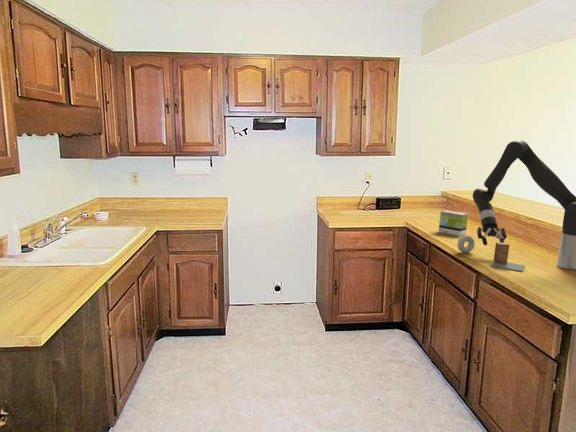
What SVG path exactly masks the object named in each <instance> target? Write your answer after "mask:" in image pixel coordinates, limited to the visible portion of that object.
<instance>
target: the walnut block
mask: <svg viewBox="0 0 576 432" xmlns="http://www.w3.org/2000/svg"><path fill="white" fill-rule="evenodd" d="M494 247H495V248H494V253H493V254H494V255H493V262H495V263H497V264H507V262H508V259H509V252H510V244H509V243H507V242H504V243H500V242H495V246H494Z"/></svg>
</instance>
